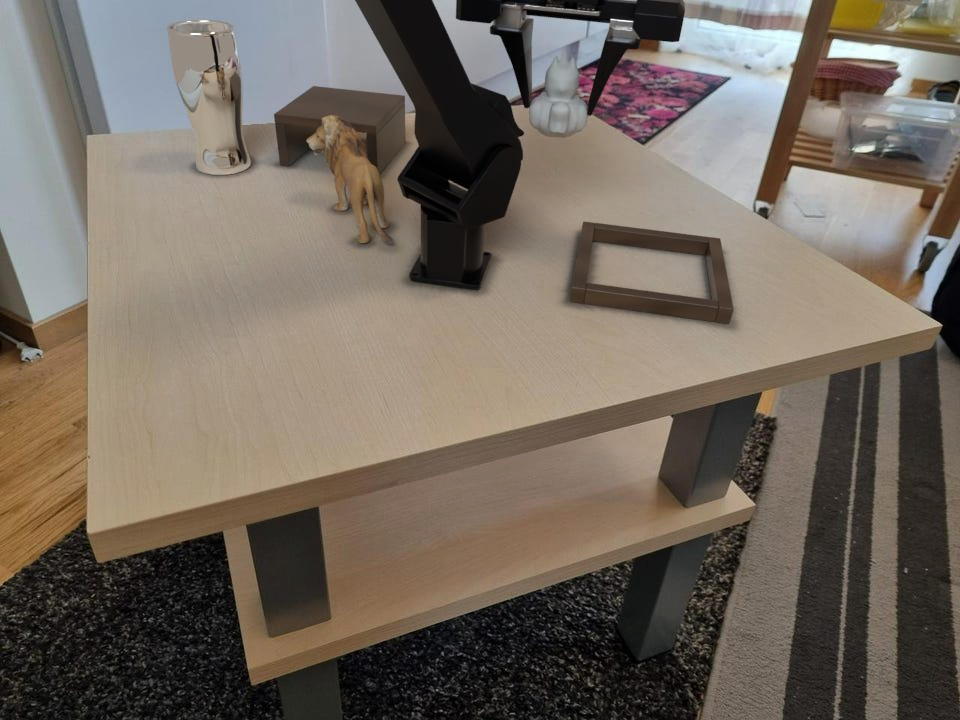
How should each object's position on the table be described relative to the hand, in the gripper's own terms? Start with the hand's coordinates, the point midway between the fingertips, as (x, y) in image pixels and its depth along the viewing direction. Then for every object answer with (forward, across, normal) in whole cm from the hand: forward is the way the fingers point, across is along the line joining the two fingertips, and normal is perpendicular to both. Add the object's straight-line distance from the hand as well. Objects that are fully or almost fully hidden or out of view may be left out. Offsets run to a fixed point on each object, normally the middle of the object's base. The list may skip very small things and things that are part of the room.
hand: (558, 110), depth 65 cm
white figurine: (+3, 0, 0) cm, 3 cm away
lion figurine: (+13, +19, +2) cm, 23 cm away
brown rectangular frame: (+12, -11, +6) cm, 17 cm away
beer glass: (+13, +39, -6) cm, 41 cm away
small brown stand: (+12, +27, -14) cm, 33 cm away
